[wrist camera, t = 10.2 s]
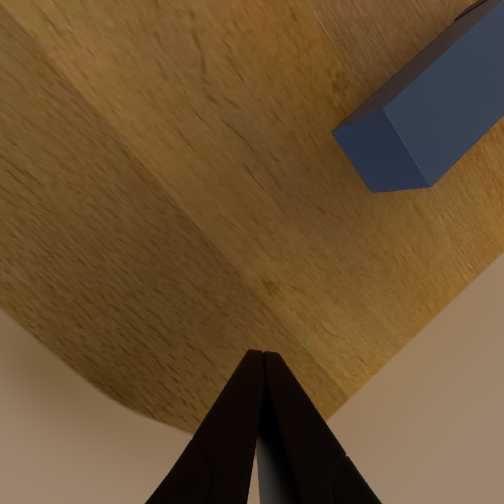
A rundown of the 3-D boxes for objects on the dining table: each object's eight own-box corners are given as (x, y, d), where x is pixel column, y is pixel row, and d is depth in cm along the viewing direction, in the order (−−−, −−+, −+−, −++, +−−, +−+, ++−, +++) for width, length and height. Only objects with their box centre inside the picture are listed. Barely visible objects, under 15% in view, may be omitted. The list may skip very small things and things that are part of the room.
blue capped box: (433, 189, 17) (587, 36, 19) (383, 105, 16) (554, -50, 18) (371, 194, 22) (498, 72, 24) (329, 131, 21) (467, 7, 23)
